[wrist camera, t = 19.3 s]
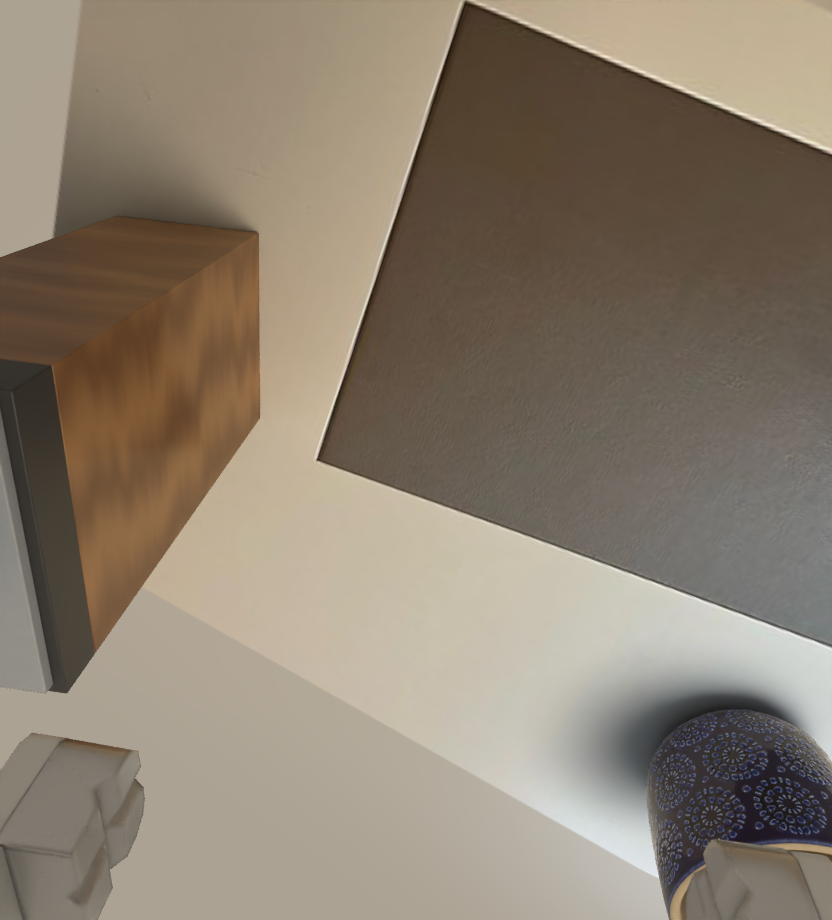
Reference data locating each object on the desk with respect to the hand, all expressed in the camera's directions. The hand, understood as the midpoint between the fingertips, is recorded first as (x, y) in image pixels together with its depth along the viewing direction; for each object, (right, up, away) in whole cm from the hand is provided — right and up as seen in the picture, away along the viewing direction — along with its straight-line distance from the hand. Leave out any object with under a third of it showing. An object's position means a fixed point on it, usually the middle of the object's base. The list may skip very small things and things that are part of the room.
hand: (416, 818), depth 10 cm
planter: (+29, -22, +57) cm, 68 cm away
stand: (-16, +15, +42) cm, 48 cm away
